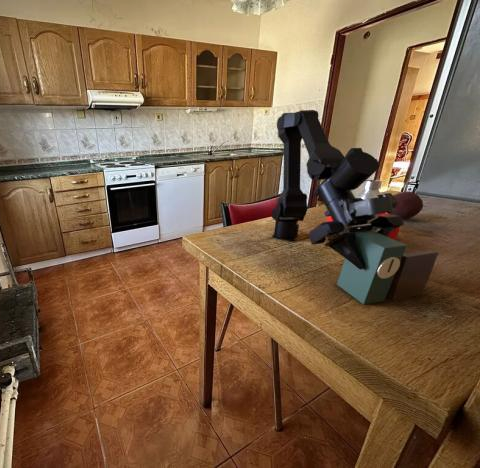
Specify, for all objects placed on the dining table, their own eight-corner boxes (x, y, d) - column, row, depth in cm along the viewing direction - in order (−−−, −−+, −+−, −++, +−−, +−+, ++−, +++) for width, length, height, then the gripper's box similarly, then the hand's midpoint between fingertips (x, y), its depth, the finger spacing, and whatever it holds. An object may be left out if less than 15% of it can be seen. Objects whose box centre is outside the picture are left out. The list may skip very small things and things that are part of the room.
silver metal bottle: (362, 254, 73) (381, 184, 66) (338, 246, 78) (353, 180, 71) (375, 249, 76) (394, 181, 68) (350, 241, 81) (366, 178, 74)
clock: (336, 284, 58) (352, 232, 53) (355, 281, 59) (373, 230, 54) (365, 306, 52) (387, 249, 46) (386, 302, 53) (409, 246, 47)
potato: (373, 217, 102) (380, 192, 98) (391, 212, 107) (399, 188, 103) (406, 225, 93) (415, 197, 89) (425, 219, 98) (435, 193, 94)
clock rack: (349, 276, 62) (359, 238, 59) (376, 271, 64) (387, 234, 60) (392, 300, 53) (407, 257, 50) (422, 294, 55) (439, 252, 51)
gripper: (329, 182, 49) (369, 259, 43) (407, 176, 52) (455, 246, 46) (295, 212, 59) (324, 277, 52) (363, 205, 62) (397, 266, 56)
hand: (374, 267), depth 52 cm, fingers closed on clock, 5 cm apart
